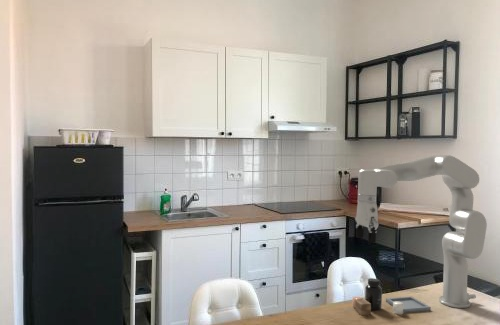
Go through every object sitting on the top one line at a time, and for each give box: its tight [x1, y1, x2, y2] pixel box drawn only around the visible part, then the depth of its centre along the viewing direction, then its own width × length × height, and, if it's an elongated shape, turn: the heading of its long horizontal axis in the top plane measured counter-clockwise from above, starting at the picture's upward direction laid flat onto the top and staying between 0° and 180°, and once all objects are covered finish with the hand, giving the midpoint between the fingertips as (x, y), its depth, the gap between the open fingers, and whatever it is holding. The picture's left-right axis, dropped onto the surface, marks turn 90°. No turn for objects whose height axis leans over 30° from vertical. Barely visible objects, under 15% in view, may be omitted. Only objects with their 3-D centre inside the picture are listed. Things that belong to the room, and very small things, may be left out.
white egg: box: [392, 301, 404, 315], centre depth 168 cm, size 4×4×4 cm
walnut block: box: [354, 299, 372, 316], centre depth 167 cm, size 4×4×4 cm
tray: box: [385, 295, 432, 314], centre depth 176 cm, size 13×13×2 cm
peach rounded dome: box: [352, 296, 364, 310], centre depth 173 cm, size 4×4×4 cm
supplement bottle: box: [364, 277, 383, 311], centre depth 173 cm, size 7×7×12 cm
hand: (365, 239), depth 169 cm, fingers open, 9 cm apart
